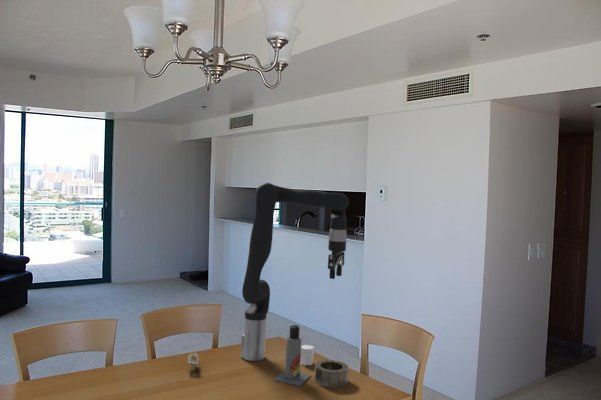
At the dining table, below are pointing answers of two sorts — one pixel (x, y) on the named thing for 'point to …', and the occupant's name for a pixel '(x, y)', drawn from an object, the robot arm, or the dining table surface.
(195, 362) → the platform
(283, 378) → the rubber mat
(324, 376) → the collar
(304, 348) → the white cylinder
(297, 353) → the lotion bottle
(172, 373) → the dining table surface
